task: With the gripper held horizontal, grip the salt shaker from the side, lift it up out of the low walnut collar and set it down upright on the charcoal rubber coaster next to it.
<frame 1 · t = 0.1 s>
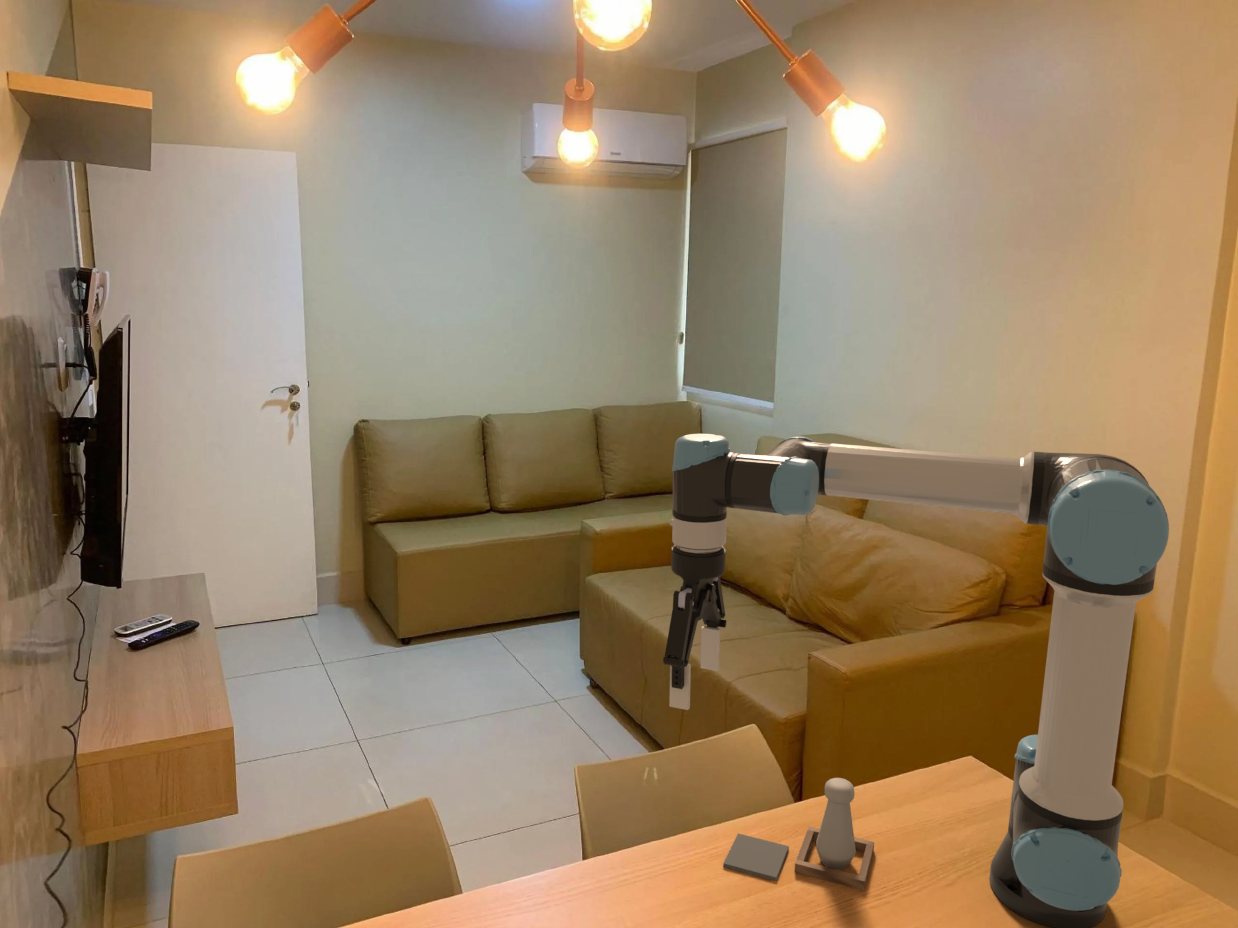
hand: (695, 687, 130), 28 cm above the table, tool pointing down, fingers open, 13 cm apart
charcoal coaster: (756, 857, 136), on the table
walnut collar: (834, 861, 136), on the table
salt shaker: (834, 862, 136), resting in walnut collar
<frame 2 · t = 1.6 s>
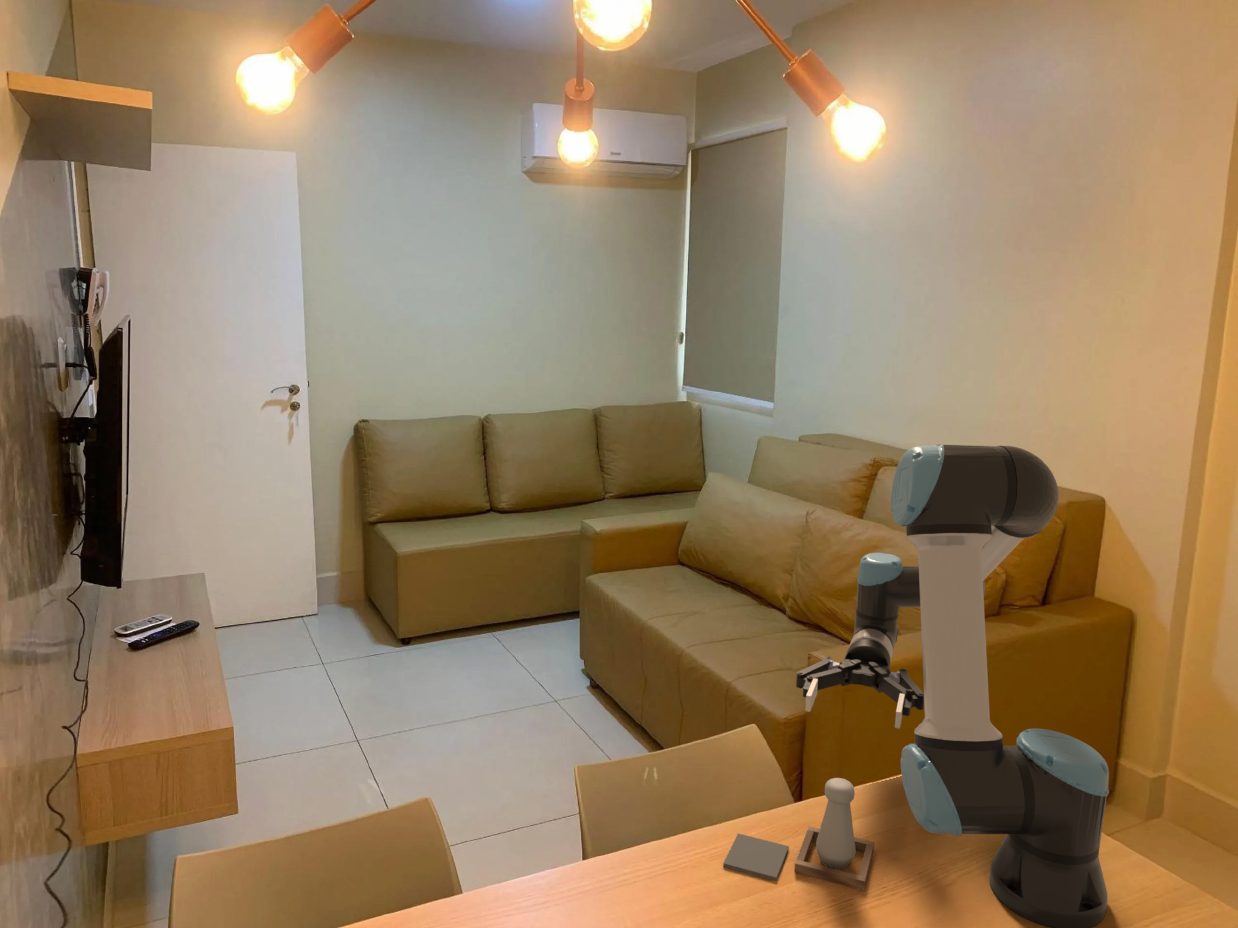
hand: (852, 711, 140), 20 cm above the table, tool horizontal, fingers open, 13 cm apart
nothing on the table moved.
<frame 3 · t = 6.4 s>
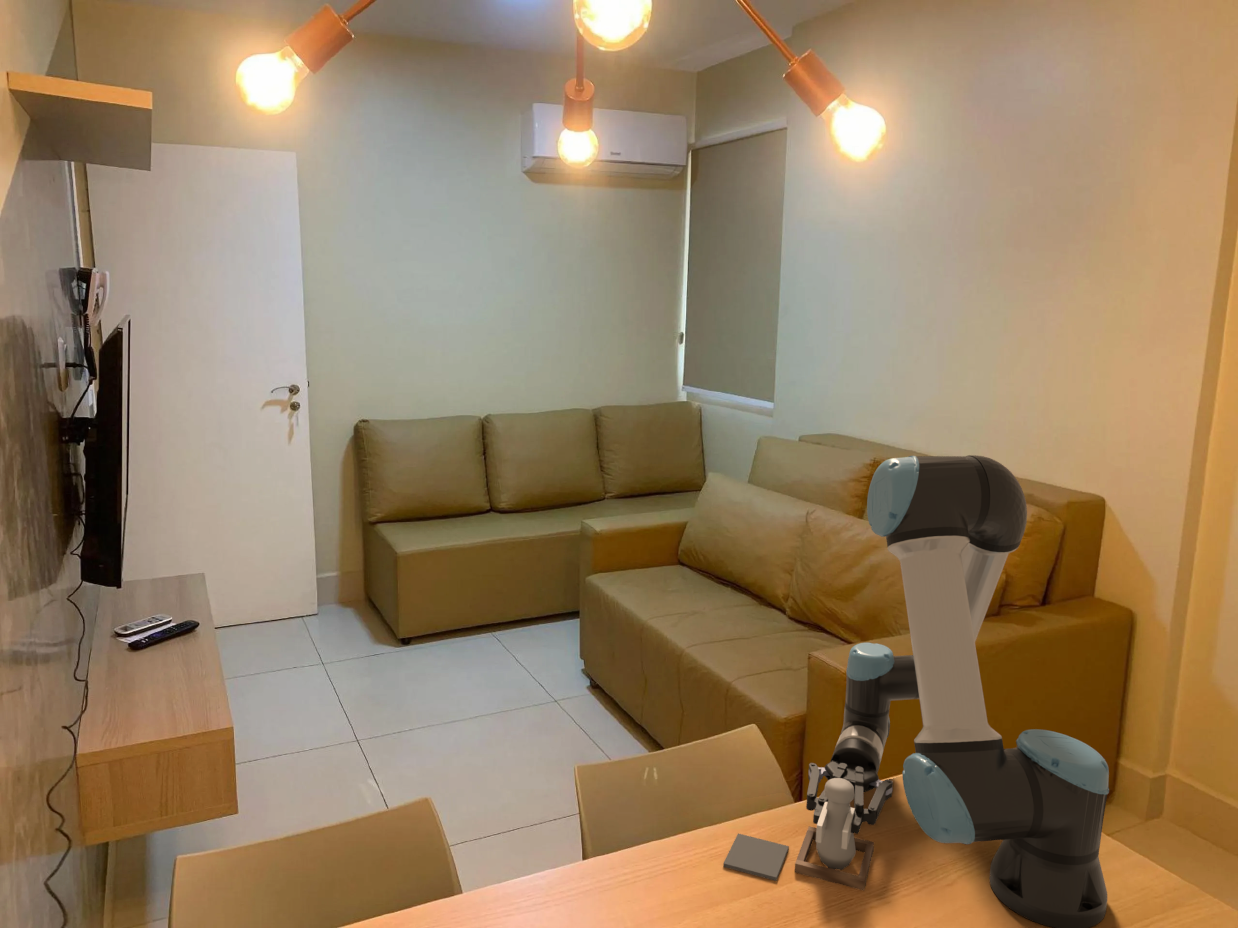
hand: (831, 836, 129), 8 cm above the table, tool horizontal, fingers closed on salt shaker, 3 cm apart
salt shaker: (834, 862, 136), resting in walnut collar, touching gripper
when the fingers open (9 cm above the table, at t = 10.8 s): salt shaker stays where it is, resting on charcoal coaster.
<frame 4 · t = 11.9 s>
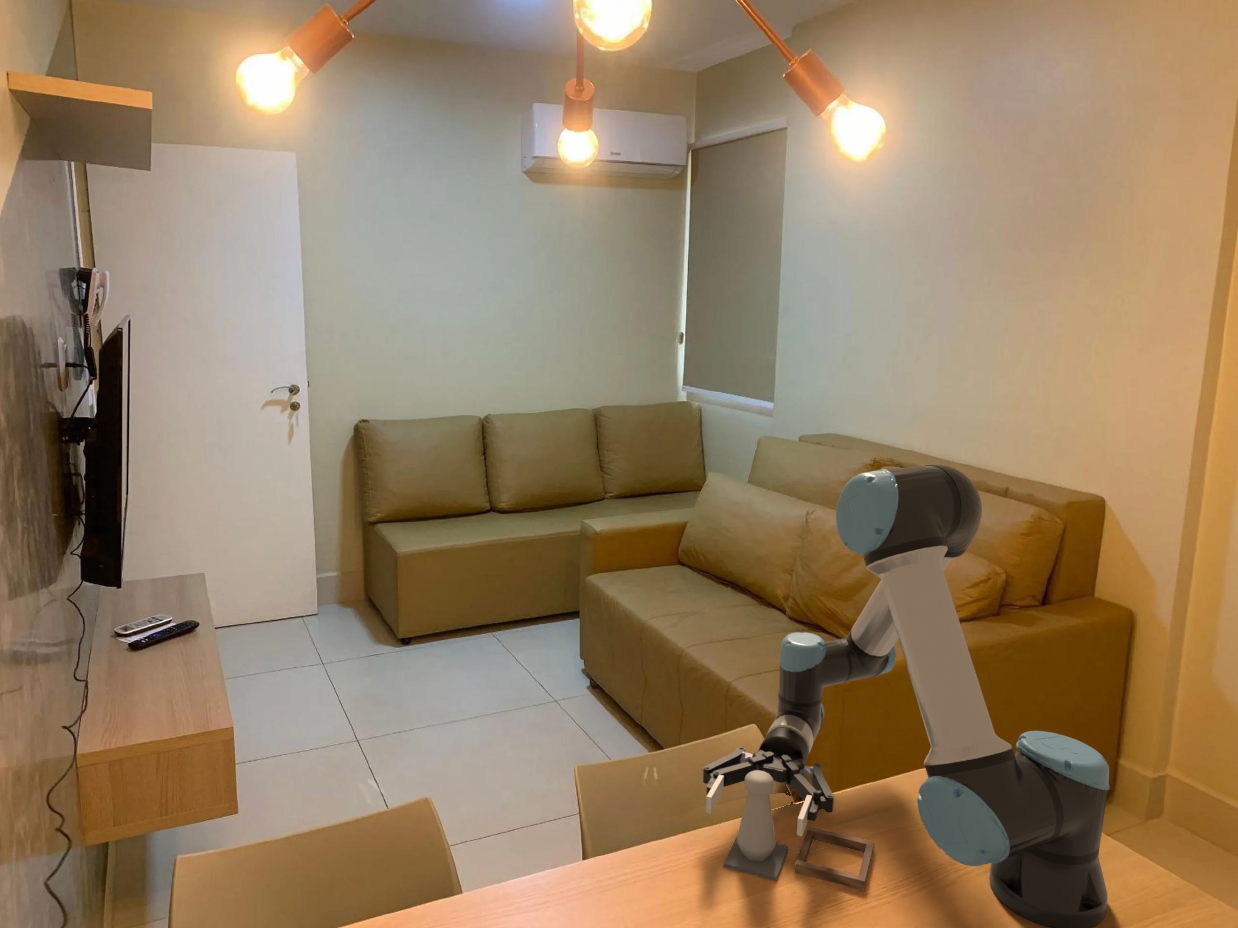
hand: (753, 816, 131), 9 cm above the table, tool horizontal, fingers open, 13 cm apart
salt shaker: (755, 854, 136), resting on charcoal coaster
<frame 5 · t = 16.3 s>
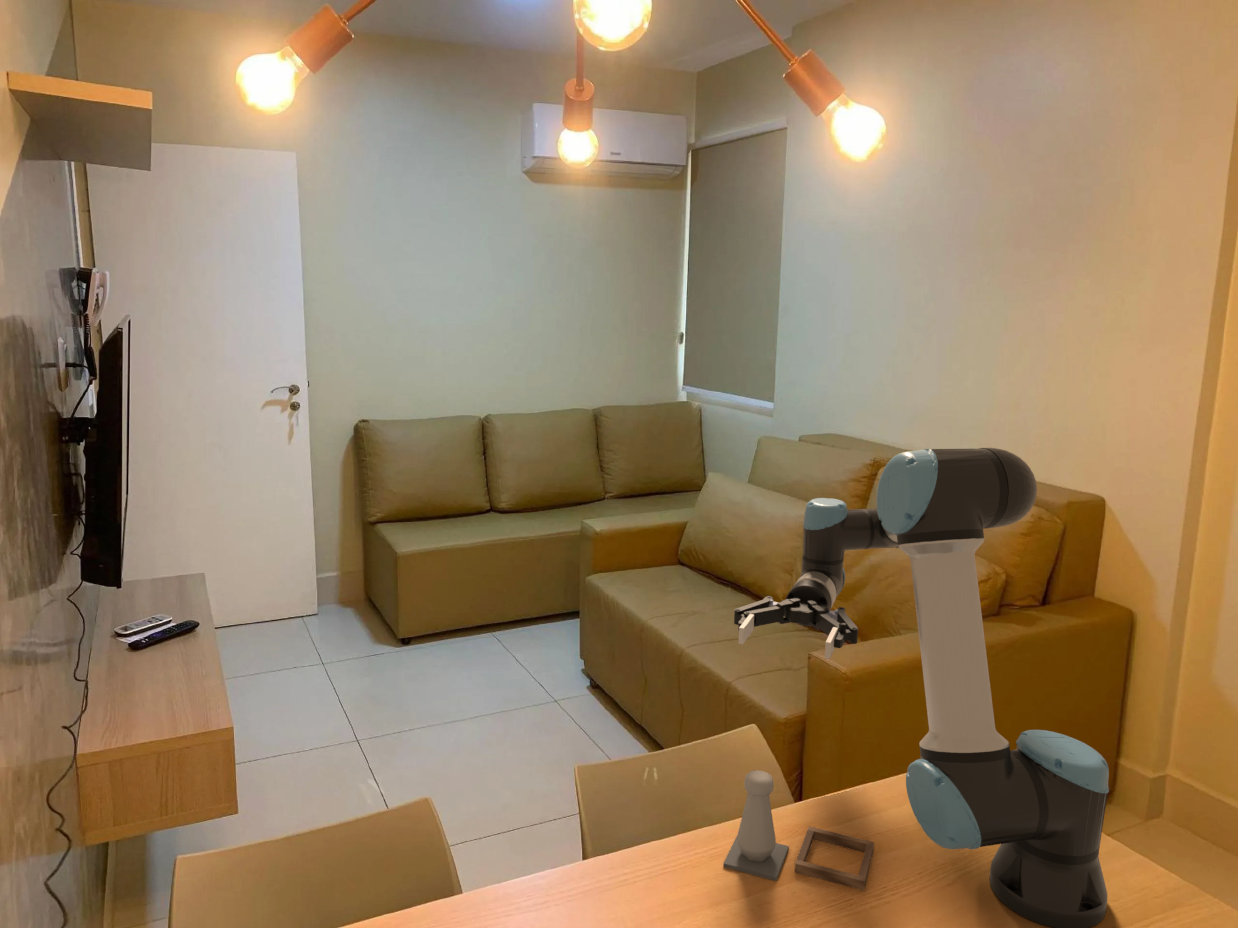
hand: (783, 643, 141), 30 cm above the table, tool horizontal, fingers open, 13 cm apart
nothing on the table moved.
at the end: salt shaker 0.3 cm off-centre on the charcoal coaster, point 0.4 cm above the charcoal coaster's base; salt shaker tilted 0°; the gripper is holding nothing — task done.
